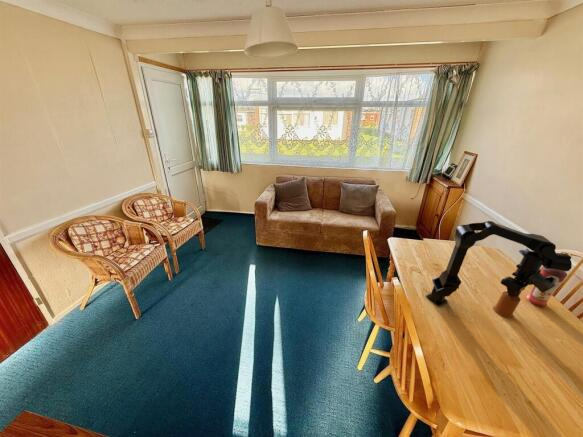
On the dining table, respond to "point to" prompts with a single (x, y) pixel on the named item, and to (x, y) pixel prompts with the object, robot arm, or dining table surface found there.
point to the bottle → (506, 305)
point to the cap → (516, 294)
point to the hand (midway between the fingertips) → (513, 294)
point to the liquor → (542, 297)
